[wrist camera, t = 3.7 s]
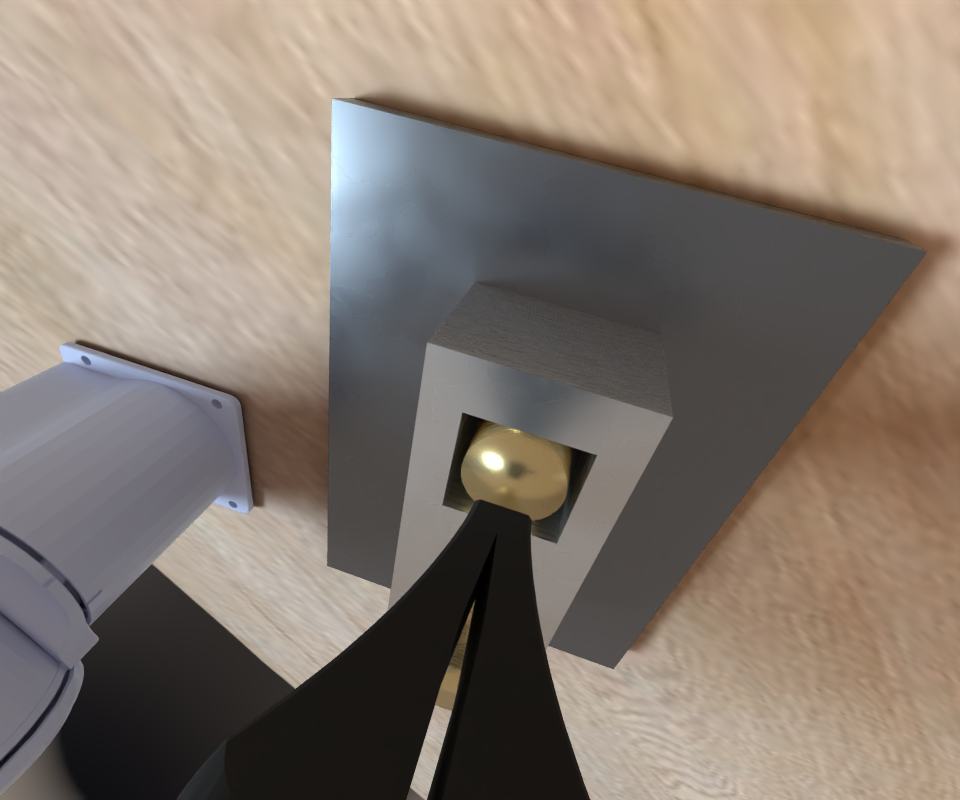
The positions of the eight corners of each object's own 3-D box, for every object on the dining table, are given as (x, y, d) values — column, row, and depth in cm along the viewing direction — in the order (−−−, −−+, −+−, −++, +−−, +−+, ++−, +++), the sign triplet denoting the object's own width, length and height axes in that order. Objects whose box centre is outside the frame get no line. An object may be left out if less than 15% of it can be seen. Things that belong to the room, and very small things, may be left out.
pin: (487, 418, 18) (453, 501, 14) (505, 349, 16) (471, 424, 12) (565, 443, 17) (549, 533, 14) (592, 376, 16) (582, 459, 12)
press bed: (338, 548, 27) (327, 565, 26) (352, 98, 14) (332, 98, 13) (614, 647, 25) (613, 669, 24) (903, 239, 13) (926, 251, 12)
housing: (421, 551, 23) (383, 637, 20) (475, 281, 15) (426, 342, 11) (540, 592, 23) (523, 689, 19) (661, 335, 15) (673, 417, 11)
